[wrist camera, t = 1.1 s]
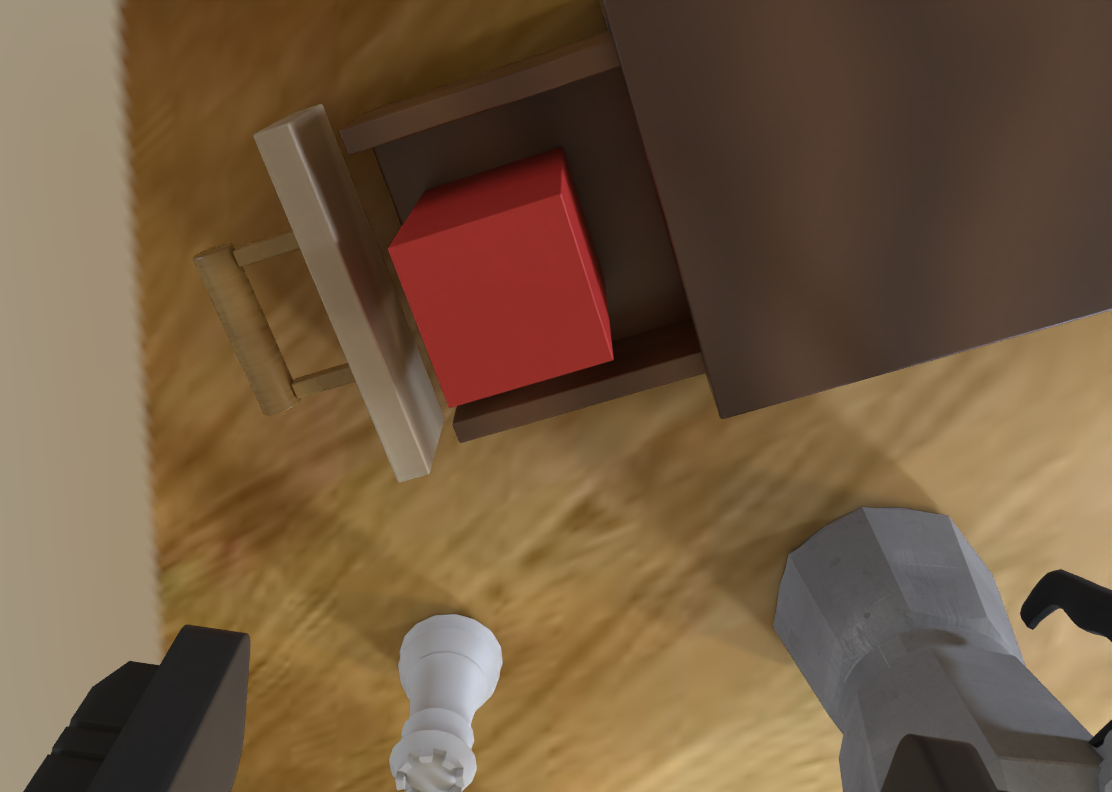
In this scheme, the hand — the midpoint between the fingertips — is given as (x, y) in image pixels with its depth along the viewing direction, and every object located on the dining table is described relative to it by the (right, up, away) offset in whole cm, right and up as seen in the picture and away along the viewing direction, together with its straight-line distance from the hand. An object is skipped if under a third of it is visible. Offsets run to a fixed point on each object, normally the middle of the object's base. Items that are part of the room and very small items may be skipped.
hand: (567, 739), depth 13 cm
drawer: (-3, +10, +25) cm, 27 cm away
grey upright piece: (+14, -3, +31) cm, 35 cm away
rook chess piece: (-5, -7, +33) cm, 34 cm away
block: (-2, +10, +24) cm, 26 cm away
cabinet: (+10, +14, +24) cm, 30 cm away
